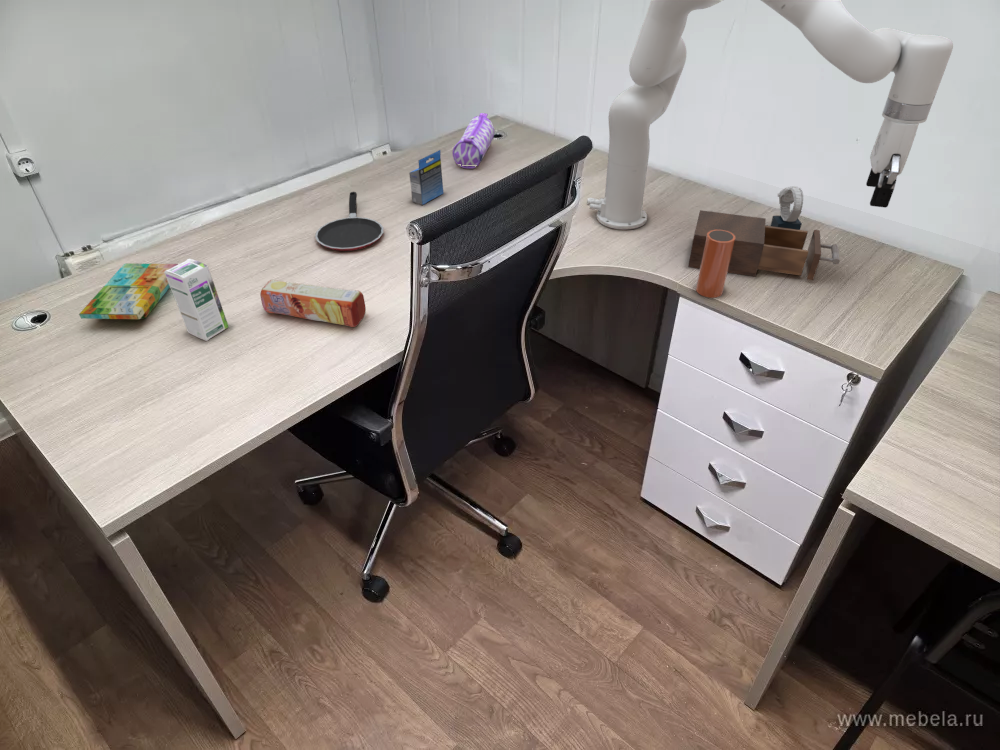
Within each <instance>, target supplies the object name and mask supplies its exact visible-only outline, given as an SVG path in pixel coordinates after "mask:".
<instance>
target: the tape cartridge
mask: <svg viewBox="0 0 1000 750" xmlns="http://www.w3.org/2000/svg"><path fill="white" fill-rule="evenodd" d="M441 154H442V153H441V149H439V150H437V151H435V152H433V153H430V154H429V155H426V156H424V157H423V158H420V159H418V161H417V162H418V168H416V169H413V170H411V171H409V173H408V175H409V183H410V192H411V201H412V203H414V204H417V205H419V206H424V205H426V204H427V203H429V202H431V201H432V200H435V199H436V198H438V197H440V196H441V195H443V194H444V185H443V183H444V182H443V172H442V170H443V169H442V158H441ZM430 159H431V160H430Z"/></svg>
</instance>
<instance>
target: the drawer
mask: <svg viewBox="0 0 1000 750" xmlns="http://www.w3.org/2000/svg"><path fill="white" fill-rule="evenodd" d="M807 236H808V230H805V229H804V230H803V229H800V230H796V229H788V228H780V227H773V226H771V225H765V238H764V246H763V250H762V254H761V258H760V262H759V265H758V269H757V270H760V271H767V272H773V273H780V274H786V275H787V274H788V275H793V276H800V277H801V276H802V274H803V271H804V268H805V266H806V280H809V281H814V278H815V276H816V272H817V270H818V267H819V263H820V261H823V262H829V263H832V264H833V265H835V266H836V265H838V264H840V253H839V252H840V251H839V250H840V249H839V245H838V244H837V243H833V244H831V245H830V244H823V243H821V230H820V229H813V231H812V236H811V238H810V240H809V241H810V242H809V244H808V248H807V249H804V246H805V243H806V239H807ZM822 249H828V250H830V251H831V252H830V253H831V257H826V256H822Z"/></svg>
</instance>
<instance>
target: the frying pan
mask: <svg viewBox="0 0 1000 750" xmlns="http://www.w3.org/2000/svg"><path fill="white" fill-rule="evenodd" d="M357 196H358V193H357V192H356V191H350V192H349V196H348V217H342V218H338V219H334V220H331V221H329V222H326V223H325V224H323V225H322V226H320V227H319V228H318V229H317V231H316V232H315V236H314V237H315V239H316V241H317V243H319V244H320V245H322V246H323V247H324V248H327V249H328V250H332V251H336V252H337V251H338V252H353V251H358V250H364V249H365V248H368V247H371V246H372V245H373V244H375V243H376V242H377V241H379V239H380V238H381V237H382V236H383V234H384V226H383V225H382V223H381V222H379V221H377V220H375V219H373V218H369V217H361V216H358V215H357V214H358V213H357Z"/></svg>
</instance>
